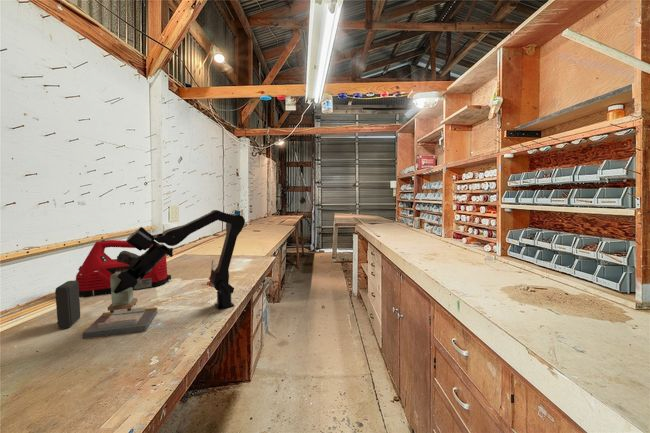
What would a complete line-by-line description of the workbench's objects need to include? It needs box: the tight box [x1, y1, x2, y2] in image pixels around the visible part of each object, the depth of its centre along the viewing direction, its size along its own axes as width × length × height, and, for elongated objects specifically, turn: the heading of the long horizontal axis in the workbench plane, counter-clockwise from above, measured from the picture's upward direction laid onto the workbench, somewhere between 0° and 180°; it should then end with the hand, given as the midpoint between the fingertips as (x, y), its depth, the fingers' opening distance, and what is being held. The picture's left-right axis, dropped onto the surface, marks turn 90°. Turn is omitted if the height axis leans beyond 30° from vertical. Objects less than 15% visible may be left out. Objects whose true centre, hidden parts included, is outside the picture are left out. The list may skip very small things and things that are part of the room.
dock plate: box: [81, 306, 158, 340], centre depth 103 cm, size 18×16×4 cm
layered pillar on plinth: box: [107, 272, 138, 313], centre depth 103 cm, size 7×7×13 cm
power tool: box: [75, 239, 172, 298], centre depth 143 cm, size 16×40×25 cm, turn 123°
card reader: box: [54, 279, 81, 330], centre depth 103 cm, size 9×4×15 cm, turn 21°
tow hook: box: [206, 258, 215, 287], centre depth 150 cm, size 8×13×9 cm
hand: (117, 290), depth 102 cm, fingers closed on layered pillar on plinth, 5 cm apart
